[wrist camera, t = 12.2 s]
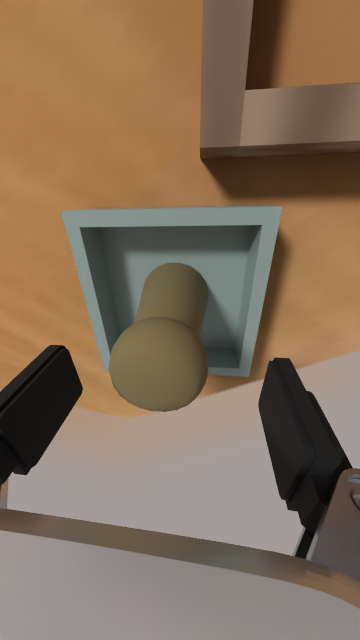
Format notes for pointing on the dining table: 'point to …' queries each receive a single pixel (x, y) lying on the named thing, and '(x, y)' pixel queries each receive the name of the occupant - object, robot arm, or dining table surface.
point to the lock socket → (265, 99)
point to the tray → (178, 247)
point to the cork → (164, 342)
